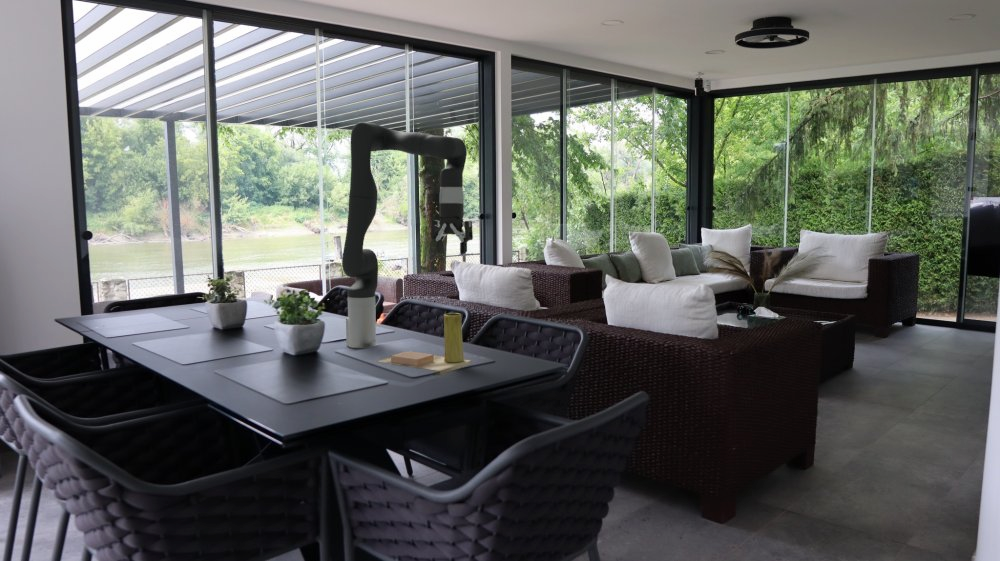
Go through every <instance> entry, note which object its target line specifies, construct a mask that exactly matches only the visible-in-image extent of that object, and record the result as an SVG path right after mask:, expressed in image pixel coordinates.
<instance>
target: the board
mask: <svg viewBox="0 0 1000 561" xmlns="http://www.w3.org/2000/svg"><path fill="white" fill-rule="evenodd" d="M444 357H445V356H441V355H434V361H432V362H429V363H426V364H423V365H420V366H413V365H406V364H399V363H393V362H391V356H390V357H386V358H383V359H379V360H376V361H375V362H377V363H384V364H385V363H386V364H391V365H395V366H396V365H398V366H404V367H409V368H410V367H411V368H416V369H417V368H418V369H424V370H425V369H426V370H432V371H437V372H433V373H432V374H433V375H439V376H440V375H444V374H447V373H450V372H453V371H456V370H459V369H461V367H462V368H464V366H465V367H467V365H468V366H470V365H472V361H471V359H464V361H462V362H456V363H449V362H445V361H444Z"/></svg>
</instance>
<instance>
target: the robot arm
mask: <svg viewBox="0 0 1000 561" xmlns="http://www.w3.org/2000/svg"><path fill="white" fill-rule="evenodd" d="M379 151H398V152H399V151H400V152H402V153H407V154H411V155H416V156H421V157H428V158H429V157H432V158H436V159H441V160H446V164H445V167H444V168H442V169H441V171H440V175H439V182H440V183H439V184H440V185H439V187H440V188H439V217H440V220H439V219H433V220H431V231H430V232H431V234H430V238H431V240H434V241H436V252H437V253H438V254H443V253H445V252H444V245H445V244H444V243H445V242H444V239H445V237H446V236H447V235H455V236H456V237H457V238H458V239H459V241H460V242H459V251H460V252H459V253H460V255H466V253H467V252H468V242H470V241H472V240H474V236H473V235H474V233H473V222H472V220H465V221H464V219H463V218H464V214H465V212H464V202H465V201H464V199H465V198H464V190H463V187H464V186H463V184H464V183H463V182H464V181H463V179H464V178H463V173H464V170H465V166H466V161H467V153H468V152H467V145H466V143H465V142H464V141H463V139H461V138H458V137H455V136H454V137H452V136H445V135H433V134H432V133H431V134H430V133H424V132H414V131H398V130H395V129H390V127H389V128H388V127H385V126H384V125H381V124H378V123H375V122H373V123H372V122H368V121H367V122H366V121H359V122H357V123H356V124H354V125H353V128H352V129H351V133H350V185H349V192H348V194H349V195H348V212H347V213H348V214H347V215H348V216H347V223H346V226H347V227H346V235H345V241H344V244H343V252H342V258H341V265H342V270H343V273H344V274H345V276H347V277H348V278H356V279H355V282H353V284H352V285H351V286H350V287H348V289H347V318H346V319H345V335H346V336H345V338H346V346H347V347H349V348H351V349H368V348H372V347H376V346H377V333H376V332H377V329H376V328H377V321H376V319H377V318H376V316H377V315H376V292H377V288H378V278H379V277H378V276H379V262H378V257H377V254H376V253H375V251H374V250H372V249H369V248H364V241H365V236H366V234H367V232H368V229H369V227H370V226H371V224H372V222H373V221H374V218H375V217H376V212H377V205H378V188H377V184H376V182H375V179H374V176H373V173H372V169H371V160H372V159H371V156H372V152H379ZM463 227H464V228H463Z"/></svg>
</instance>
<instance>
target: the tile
mask: <svg viewBox="0 0 1000 561" xmlns="http://www.w3.org/2000/svg"><path fill="white" fill-rule="evenodd" d="M434 356H435V355H434V354H433V353H424V352H417V351H410V350H406V351H403V352H399V353H396V354H392V355H391V356H390V357H391V362H393V363H399V364H406V365H413V366H420V365H423V364H426V363H429V362H432V361H434Z"/></svg>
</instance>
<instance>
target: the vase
mask: <svg viewBox="0 0 1000 561" xmlns="http://www.w3.org/2000/svg"><path fill="white" fill-rule="evenodd" d="M462 326H463V324H462V314H461V313H459V312H449V313H444V314H443V328H444V329H443V331H444V333H443V334H444V356H443V357H444V361H445V362H449V363H456V362H462V361H464V360H465V356H464V355H465V354H464V345H463V332H462V331H463V330H462Z"/></svg>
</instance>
